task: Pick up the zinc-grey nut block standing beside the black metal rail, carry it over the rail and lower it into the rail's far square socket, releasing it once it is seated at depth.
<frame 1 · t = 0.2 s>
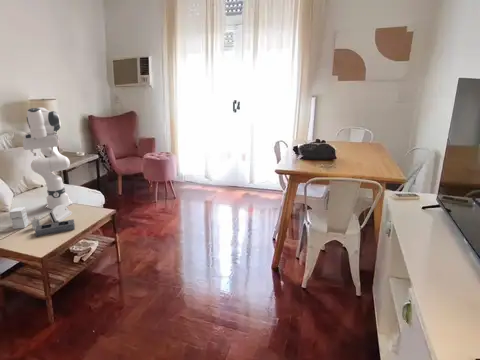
hand: (43, 154, 225), 47 cm above the table, fingers open, 8 cm apart
nut block: (37, 227, 228), on the table
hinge: (61, 218, 244), on the table
rail: (56, 230, 224), on the table
supplement box: (21, 226, 231), on the table
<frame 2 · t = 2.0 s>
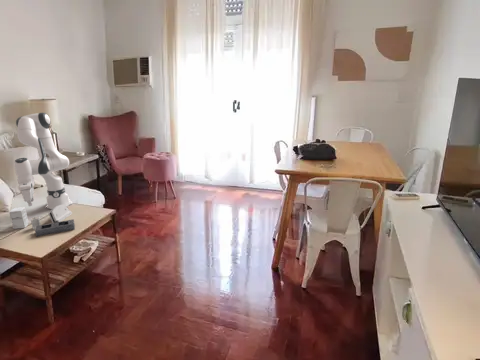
hand: (31, 203, 223), 18 cm above the table, fingers open, 8 cm apart
nothing on the table moved.
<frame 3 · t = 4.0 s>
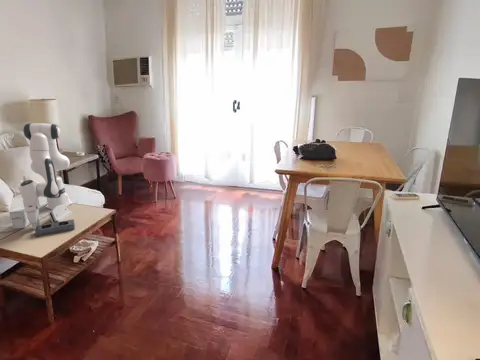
hand: (36, 224, 228), 3 cm above the table, fingers closed on nut block, 4 cm apart
nut block: (37, 227, 228), on the table, touching gripper
everything else where it was.
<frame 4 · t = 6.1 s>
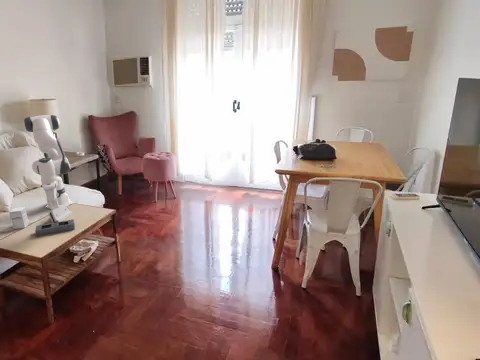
hand: (54, 203, 220), 18 cm above the table, fingers closed on nut block, 4 cm apart
nut block: (55, 207, 221), point 15 cm above the table, touching gripper
everything else where it was.
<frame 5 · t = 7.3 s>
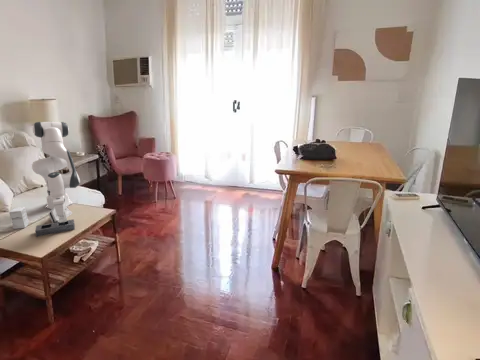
hand: (62, 217, 223), 8 cm above the table, fingers closed on nut block, 4 cm apart
nut block: (63, 220, 224), point 6 cm above the table, touching gripper
everything else where it was.
when the fingers open (5 cm above the table, at t = 8.3 s): nut block drops 2 cm, resting in rail.
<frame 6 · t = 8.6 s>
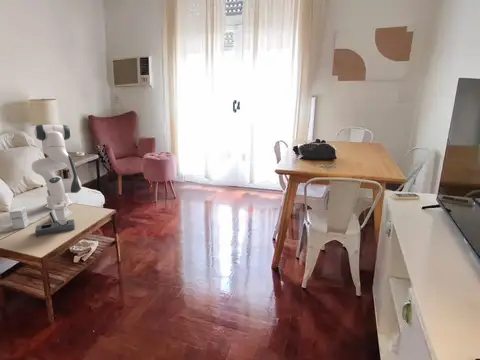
hand: (63, 222, 224), 5 cm above the table, fingers open, 7 cm apart
nut block: (64, 229, 226), resting in rail
everything else where it was.
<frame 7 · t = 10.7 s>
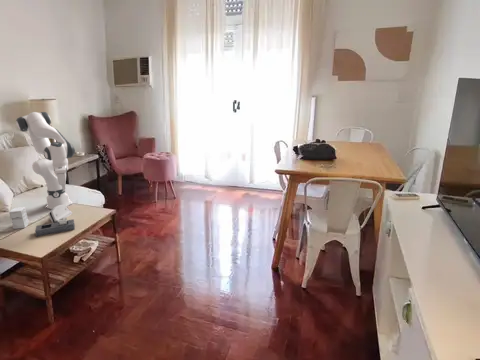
hand: (64, 186, 229), 26 cm above the table, fingers open, 8 cm apart
nothing on the table moved.
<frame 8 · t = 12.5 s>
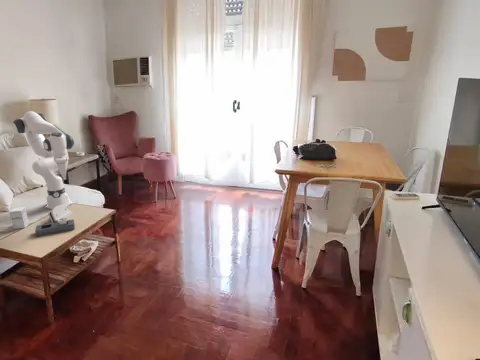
hand: (64, 177, 230), 31 cm above the table, fingers open, 8 cm apart
nothing on the table moved.
at the end: nut block 0.0 cm from the target spot on the rail, point 0.0 cm above the rail's base; nut block tilted 0°; the gripper is holding nothing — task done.
